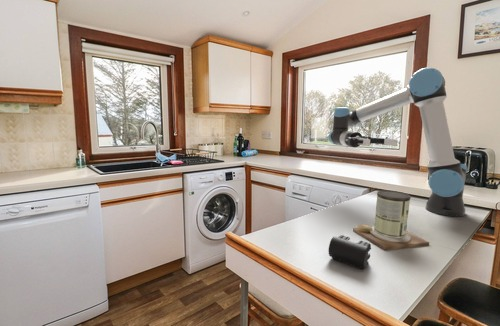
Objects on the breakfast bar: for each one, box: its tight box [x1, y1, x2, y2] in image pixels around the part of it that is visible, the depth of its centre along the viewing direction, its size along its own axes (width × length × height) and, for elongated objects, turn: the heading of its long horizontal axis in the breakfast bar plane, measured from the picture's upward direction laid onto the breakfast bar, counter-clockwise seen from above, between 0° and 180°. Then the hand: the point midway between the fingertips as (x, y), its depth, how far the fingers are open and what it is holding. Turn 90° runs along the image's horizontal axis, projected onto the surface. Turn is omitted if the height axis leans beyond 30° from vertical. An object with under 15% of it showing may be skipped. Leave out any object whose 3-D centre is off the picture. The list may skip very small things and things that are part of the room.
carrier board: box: [352, 224, 430, 251], centre depth 96 cm, size 18×16×2 cm
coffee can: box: [373, 189, 412, 238], centre depth 95 cm, size 10×10×14 cm
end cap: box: [328, 234, 372, 270], centre depth 78 cm, size 10×7×7 cm
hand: (383, 142), depth 113 cm, fingers open, 13 cm apart
